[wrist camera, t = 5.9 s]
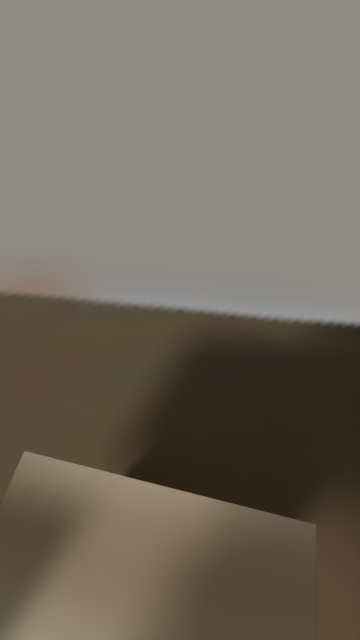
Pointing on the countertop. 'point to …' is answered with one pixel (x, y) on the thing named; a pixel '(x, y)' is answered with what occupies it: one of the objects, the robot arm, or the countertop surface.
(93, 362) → the countertop surface
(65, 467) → the birch block
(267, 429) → the countertop surface
